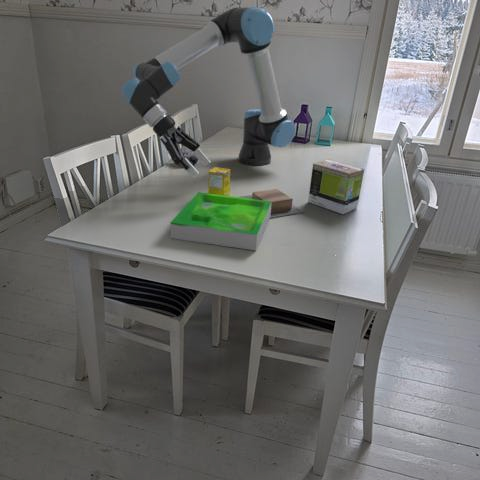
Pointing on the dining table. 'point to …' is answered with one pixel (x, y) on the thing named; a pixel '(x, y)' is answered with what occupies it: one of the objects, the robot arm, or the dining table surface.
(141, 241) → the dining table surface
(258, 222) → the tray
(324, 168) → the tea box
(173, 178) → the dining table surface
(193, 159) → the pumice stone
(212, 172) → the supplement box
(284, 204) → the plate
